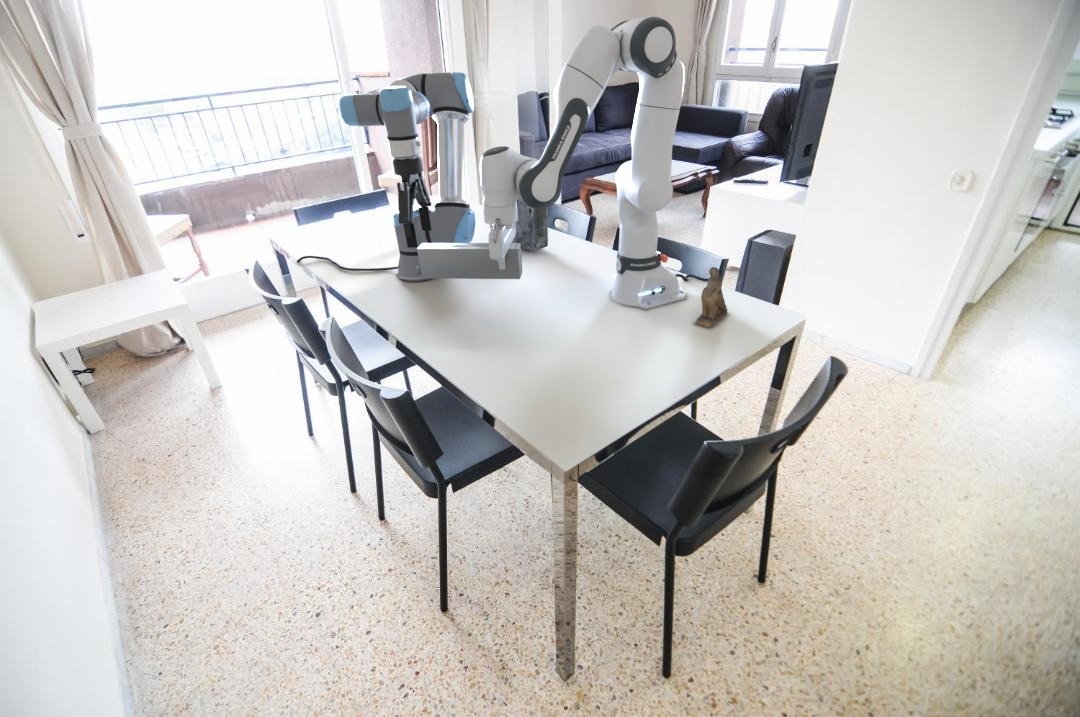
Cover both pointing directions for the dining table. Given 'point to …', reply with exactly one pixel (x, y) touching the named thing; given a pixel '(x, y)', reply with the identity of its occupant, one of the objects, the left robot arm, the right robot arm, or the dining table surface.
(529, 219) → the concrete block
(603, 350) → the dining table surface
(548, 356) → the dining table surface
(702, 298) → the brown carved statuette
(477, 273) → the bar
